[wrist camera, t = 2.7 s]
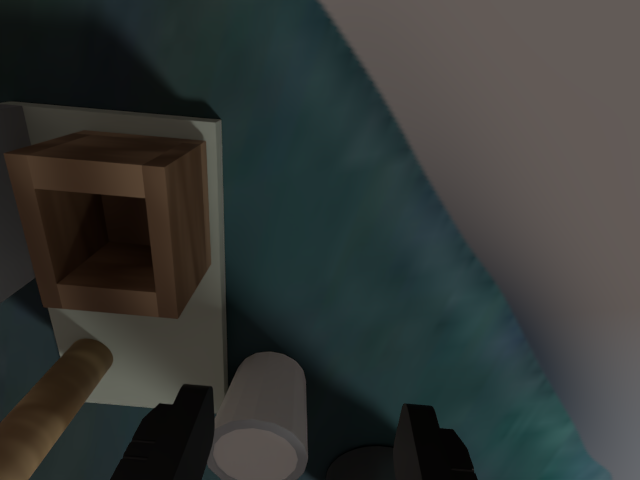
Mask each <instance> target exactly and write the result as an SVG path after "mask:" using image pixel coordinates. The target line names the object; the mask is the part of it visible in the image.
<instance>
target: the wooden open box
mask: <svg viewBox="0 0 640 480" xmlns="http://www.w3.org/2000/svg"><path fill="white" fill-rule="evenodd" d="M3 154H4V158H5V162H6V166H7V170H8V173H9V177H10V181H11V185H12V189H13V193H14V197H15V200H16V204H17V208H18V212H19V216H20V220H21V223H22V227H23V231H24V235H25V239H26V243H27V246H28V250H29V254H30V258H31V262H32V266H33V270H34V273H35V277H36V281H37V285H38V289H39V293H40V296H41V300H42V304H43V307H46V308H58V309H69V310H81V311H92V312H103V313H115V314H126V315H138V316H149V317H161V318H172V319H178V318H179V317H180V315H181V313H182V312H183V310H184V308H185V307H186V305H187V303H188V302H189V300H190V298H191V297H192V295H193V293H194V292H195V290H196V288H197V287H198V285H199V283H200V282H201V280H202V279H203V277H204V275H205V274H206V272H207V270H208V269H209V267H210V265H211V245H210V222H209V198H208V174H207V151H206V141H203V140H191V139H180V138H169V137H157V136H146V135H134V134H123V133H111V132H100V131H89V130H82V131H79V132H75V133H72V134H68V135H65V136H61V137H58V138H55V139H51V140H48V141H44V142H41V143H37V144H34V145H30V146H27V147H23V148H20V149H16V150H13V151H9V152H6V153H3Z"/></svg>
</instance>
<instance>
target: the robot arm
mask: <svg viewBox="0 0 640 480" xmlns="http://www.w3.org/2000/svg"><path fill="white" fill-rule="evenodd" d="M214 431H215V419H214V398H213V388H212V386H205V385H193V384H183V385H182V387H181V388H180V390H179V392H178V394H177V396H176V399H175V401H174V403H173V404H163V403H159V404H158V405H157V406H156V407H155V408H154V409H153V410H152V411H151V412H150V413H148V414H147V415H146V416H145V417H144V418H143V419H142V421H141V423H140V425H139V427H138V429H137V430H136V432H135V434H134V436H133V438H132V442H130V444H129V445H128V447H127V449H126V451H125V453H124V455H123V459H121V460H120V462H119V464H118V466H117V468H116V470H115V472H114V473H113V475H112V477H111V479H110V480H202V477H203V473H204V470H205V467H206V464H207V461H208V458H209V455H210V451H211V448H212V444H213V438H214ZM326 480H478V479H477V476H476V473H474V467H473V464H472V461H471V458H470V455H469V452H468V449H467V447H466V446H465V445H464V443H463V442H462V441H461V439H460V438H459V437H458V435H457V434H456V433H455V431H454V430H453V429H443V428H439V424H438V420H437V417H436V413H435V410H434V408H433V407H432V406H428V405H416V404H405V403H404V404H403V406H402V410H401V414H400V419H399V423H398V427H397V432H396V436H395V441H394V448H391V447H382V446H370V447H363V448H358V449H354V450H352V451H349V452H346V453H345V454H343V455H341V456H340V457H338V458H337V459H336V460H335V461H334V462H333V463H332V464H331V466H330V467H329V469H328V471H327V474H326Z"/></svg>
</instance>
